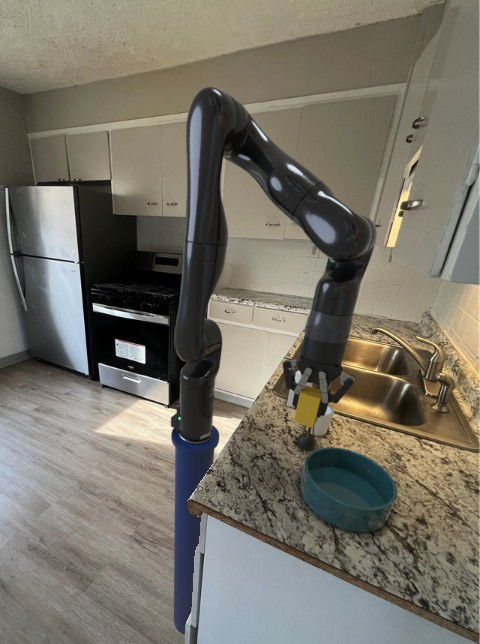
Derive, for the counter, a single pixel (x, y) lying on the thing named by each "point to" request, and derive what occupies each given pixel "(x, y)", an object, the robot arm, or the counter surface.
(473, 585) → the counter surface
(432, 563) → the counter surface
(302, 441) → the wooden tabletop sculpture
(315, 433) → the white short cylinder
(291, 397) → the medicine bottle
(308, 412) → the sponge
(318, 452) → the bowl
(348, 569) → the counter surface
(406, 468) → the counter surface
